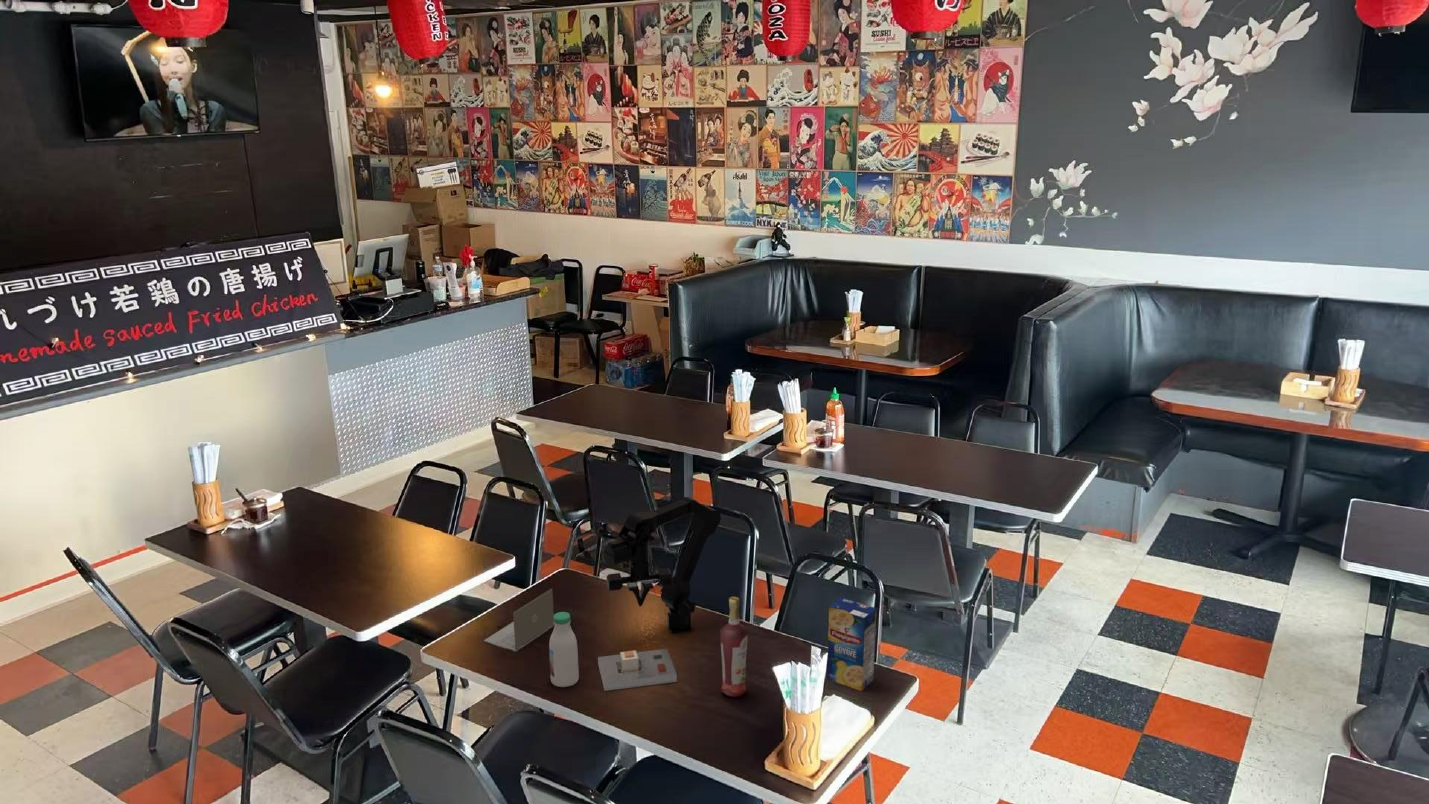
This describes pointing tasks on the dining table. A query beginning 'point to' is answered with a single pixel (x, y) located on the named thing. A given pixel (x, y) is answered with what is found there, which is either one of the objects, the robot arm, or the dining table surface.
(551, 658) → the milk bottle
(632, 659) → the plug
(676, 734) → the dining table surface
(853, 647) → the beverage box
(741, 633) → the liquor
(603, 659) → the switch plate
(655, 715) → the dining table surface
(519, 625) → the laptop
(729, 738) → the dining table surface
